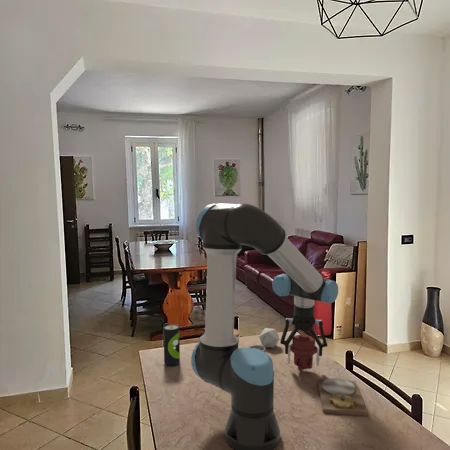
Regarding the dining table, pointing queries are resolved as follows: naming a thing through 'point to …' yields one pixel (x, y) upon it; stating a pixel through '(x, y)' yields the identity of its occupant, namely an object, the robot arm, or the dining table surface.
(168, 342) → the beverage can
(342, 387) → the gear board
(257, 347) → the mug
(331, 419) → the dining table surface
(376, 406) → the dining table surface
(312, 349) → the mechanical component
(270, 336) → the die
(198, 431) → the dining table surface
